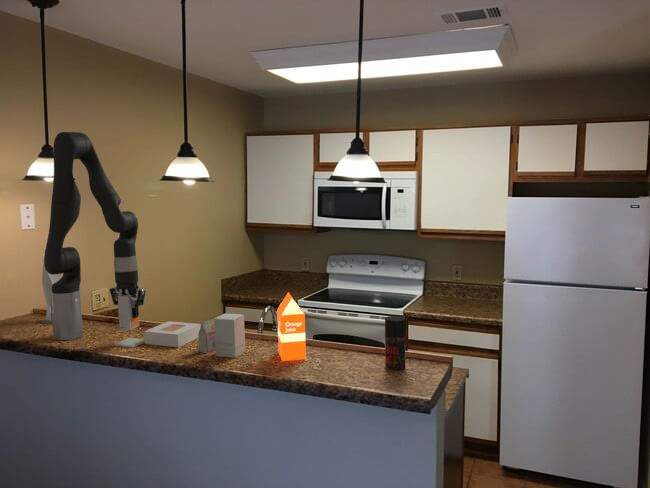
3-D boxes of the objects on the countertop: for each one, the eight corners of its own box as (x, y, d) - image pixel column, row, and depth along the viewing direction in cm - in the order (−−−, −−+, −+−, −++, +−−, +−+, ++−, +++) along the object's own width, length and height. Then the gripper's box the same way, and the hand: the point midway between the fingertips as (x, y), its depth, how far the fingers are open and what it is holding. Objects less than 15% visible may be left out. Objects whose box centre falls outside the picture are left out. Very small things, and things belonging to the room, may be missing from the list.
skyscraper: (39, 322, 223) (33, 254, 219) (56, 317, 230) (50, 252, 227) (53, 324, 219) (48, 255, 216) (70, 319, 226) (65, 253, 223)
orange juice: (301, 350, 179) (300, 291, 176) (306, 359, 170) (304, 296, 168) (278, 352, 177) (276, 292, 175) (281, 361, 168) (279, 298, 166)
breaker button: (162, 340, 191) (161, 330, 191) (173, 335, 198) (173, 325, 197) (173, 341, 190) (172, 331, 189) (184, 336, 196) (183, 326, 196)
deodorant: (383, 364, 164) (383, 316, 162) (402, 363, 164) (402, 315, 162) (387, 371, 158) (387, 321, 156) (407, 370, 158) (407, 320, 156)
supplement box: (246, 351, 179) (244, 314, 177) (235, 358, 172) (233, 319, 170) (226, 349, 181) (224, 312, 180) (215, 356, 174) (213, 318, 173)
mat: (113, 345, 188) (113, 344, 188) (129, 339, 196) (129, 337, 195) (132, 347, 185) (132, 346, 185) (147, 341, 193) (147, 339, 193)
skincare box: (130, 330, 186) (128, 296, 185) (119, 330, 187) (117, 296, 186) (140, 325, 192) (137, 292, 191) (129, 325, 193) (127, 292, 192)
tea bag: (199, 351, 180) (197, 322, 179) (213, 346, 185) (212, 317, 184) (206, 353, 178) (205, 323, 177) (221, 347, 183) (220, 319, 182)
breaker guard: (144, 343, 190) (143, 331, 189) (169, 333, 203) (168, 321, 202) (178, 347, 185) (177, 334, 184) (201, 336, 198) (200, 324, 197)
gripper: (101, 270, 186) (105, 318, 188) (135, 271, 181) (138, 321, 183) (117, 266, 193) (120, 313, 195) (150, 268, 188) (153, 316, 190)
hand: (129, 317), depth 189 cm, fingers closed on skincare box, 4 cm apart
